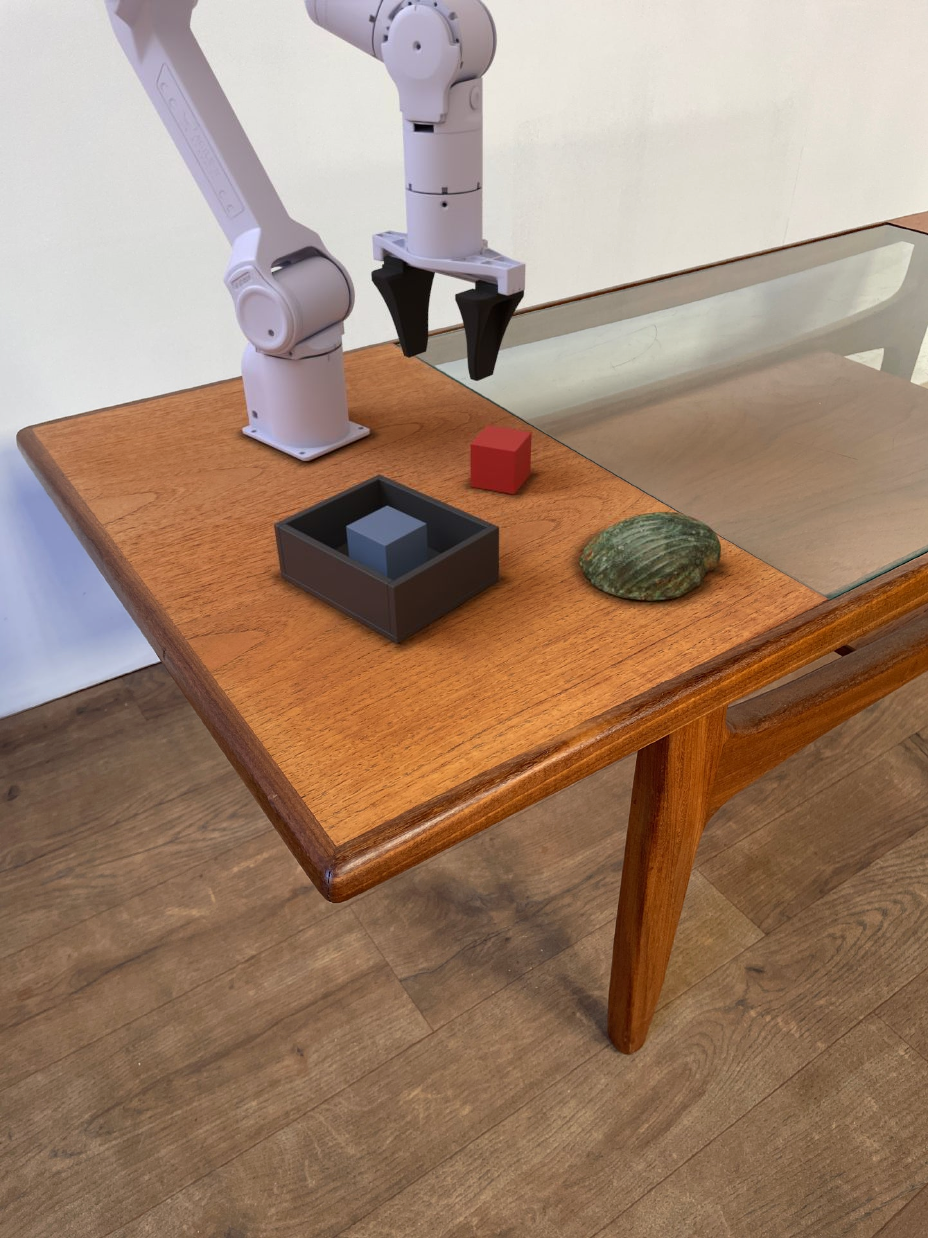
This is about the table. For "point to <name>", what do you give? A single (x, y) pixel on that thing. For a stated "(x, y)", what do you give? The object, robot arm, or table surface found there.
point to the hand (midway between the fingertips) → (447, 364)
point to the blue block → (388, 542)
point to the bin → (388, 607)
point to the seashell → (651, 556)
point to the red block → (500, 459)
